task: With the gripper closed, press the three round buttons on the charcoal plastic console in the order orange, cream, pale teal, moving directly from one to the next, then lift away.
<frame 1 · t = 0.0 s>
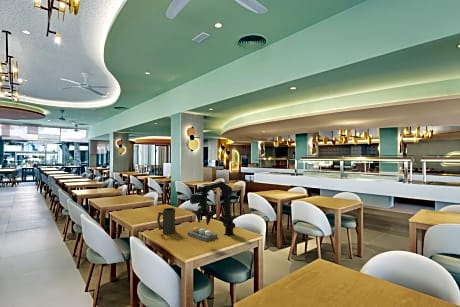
hand: (203, 223, 182), 15 cm above the table, fingers open, 9 cm apart
console: (202, 236, 198), on the table
button orange: (196, 230, 203), point 4 cm above the table, slide at 0.0 cm
beer stein: (166, 233, 208), on the table
button cream: (208, 233, 194), point 4 cm above the table, slide at 0.0 cm
button teal: (202, 232, 199), point 4 cm above the table, slide at 0.0 cm
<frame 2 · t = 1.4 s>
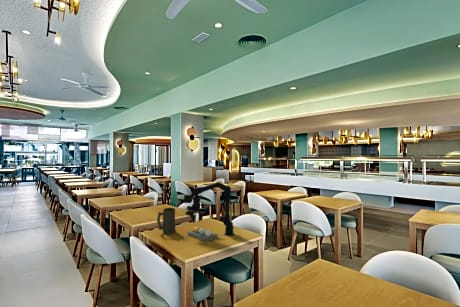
hand: (196, 222, 203), 10 cm above the table, fingers open, 6 cm apart
nothing on the table moved.
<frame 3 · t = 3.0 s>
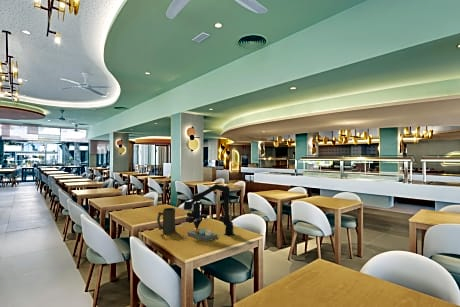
hand: (196, 228, 203), 5 cm above the table, fingers closed, pressing on button orange
button orange: (196, 231, 203), point 3 cm above the table, slide at 0.9 cm, touching gripper
everything else where it was.
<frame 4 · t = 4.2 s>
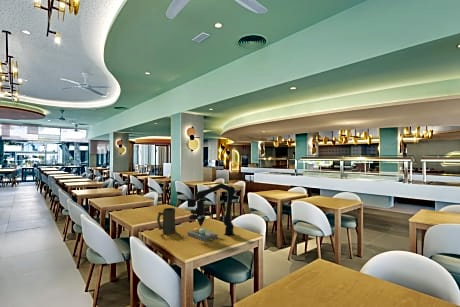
hand: (200, 226, 200), 8 cm above the table, fingers closed
button orange: (196, 231, 203), point 3 cm above the table, slide at 0.9 cm
everything else where it was.
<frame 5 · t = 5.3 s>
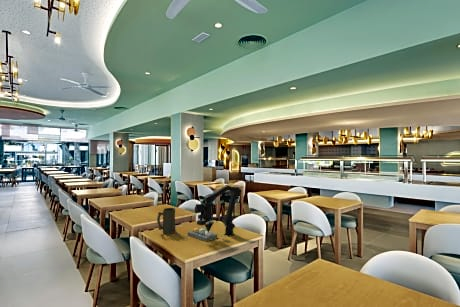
hand: (208, 231, 194), 5 cm above the table, fingers closed, pressing on button cream
button cream: (208, 234, 194), point 3 cm above the table, slide at 0.5 cm, touching gripper
everything else where it was.
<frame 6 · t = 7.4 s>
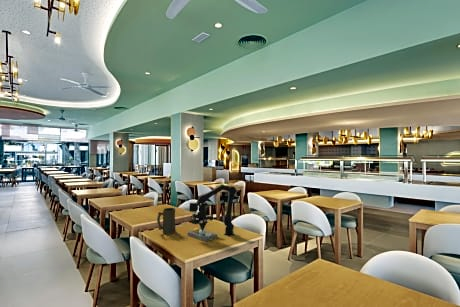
hand: (202, 230, 199), 5 cm above the table, fingers closed, pressing on button teal
button cream: (208, 235, 194), point 3 cm above the table, slide at 0.9 cm
button teal: (202, 233, 198), point 3 cm above the table, slide at 0.9 cm, touching gripper
everything else where it was.
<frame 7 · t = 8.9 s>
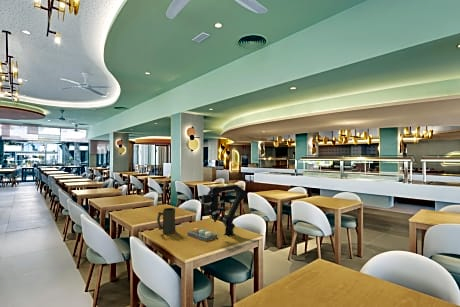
hand: (215, 222, 197), 12 cm above the table, fingers closed
button teal: (202, 233, 198), point 3 cm above the table, slide at 0.9 cm
everything else where it was.
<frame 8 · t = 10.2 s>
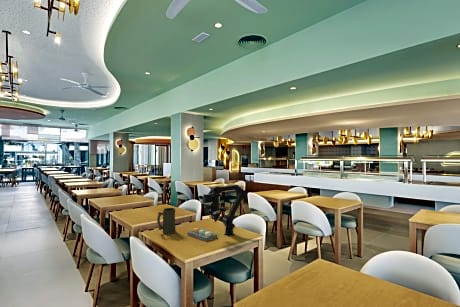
hand: (215, 221, 197), 12 cm above the table, fingers closed
nothing on the table moved.
at the end: button orange slide at 0.9 cm; button cream slide at 0.9 cm; button teal slide at 0.9 cm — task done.
